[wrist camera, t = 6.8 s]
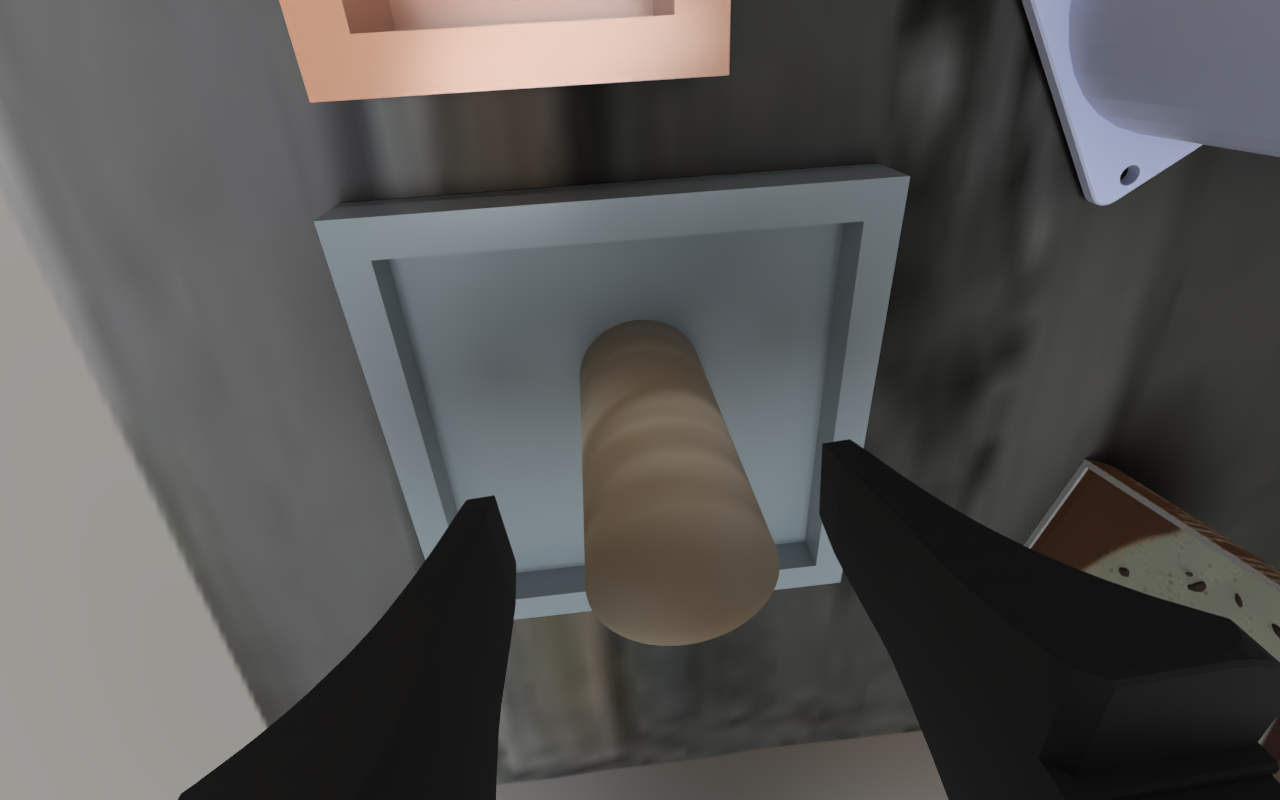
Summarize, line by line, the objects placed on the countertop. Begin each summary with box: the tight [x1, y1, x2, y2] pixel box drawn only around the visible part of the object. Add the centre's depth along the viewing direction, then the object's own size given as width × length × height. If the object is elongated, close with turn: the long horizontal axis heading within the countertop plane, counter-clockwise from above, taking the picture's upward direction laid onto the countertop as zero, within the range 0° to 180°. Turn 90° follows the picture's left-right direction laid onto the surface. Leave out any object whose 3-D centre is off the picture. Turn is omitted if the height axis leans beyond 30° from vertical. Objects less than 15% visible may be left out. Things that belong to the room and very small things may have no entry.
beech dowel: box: [580, 320, 780, 646], centre depth 14 cm, size 4×4×8 cm
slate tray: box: [314, 163, 910, 620], centre depth 18 cm, size 14×14×2 cm
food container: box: [1023, 459, 1280, 783], centre depth 21 cm, size 12×6×10 cm, turn 167°
